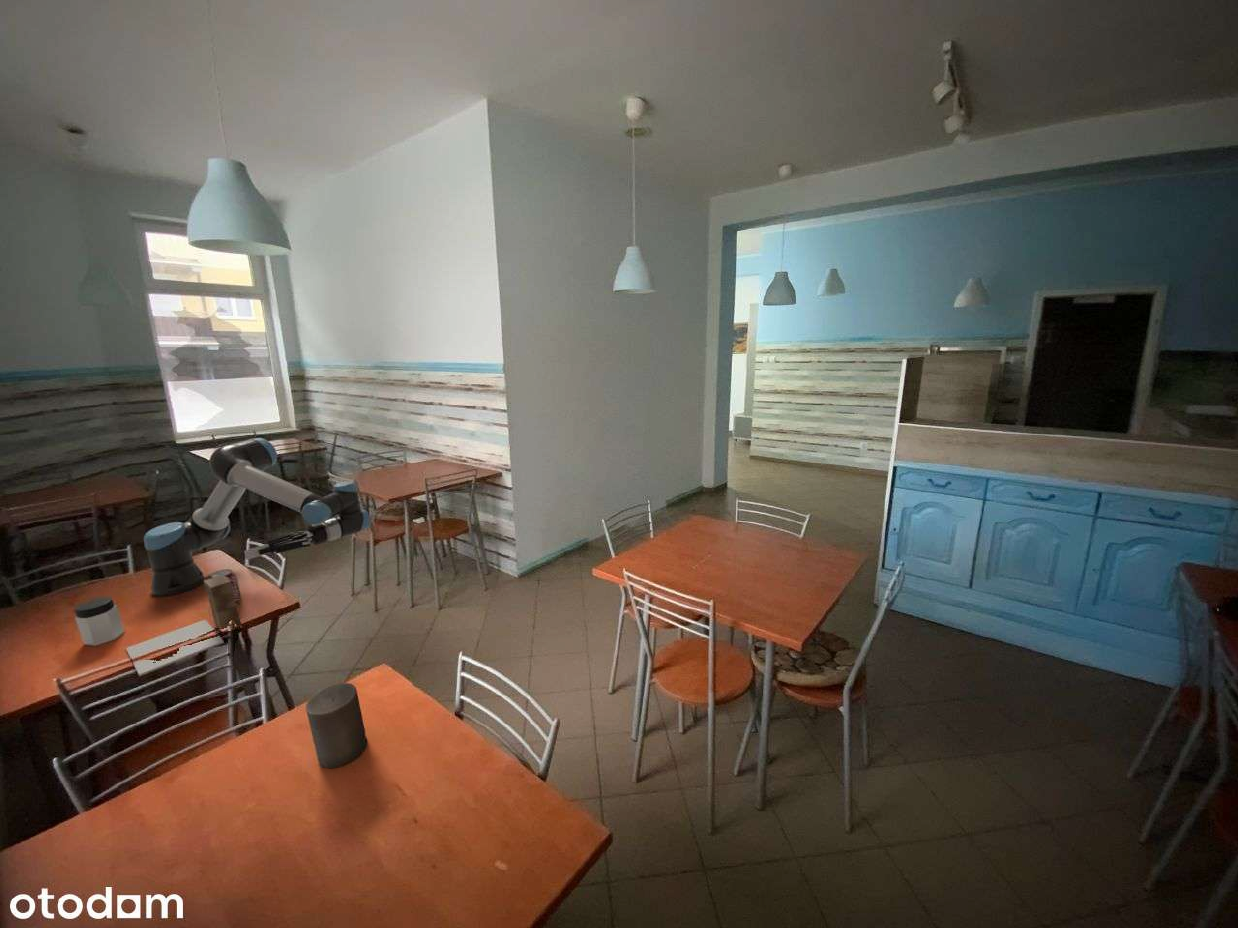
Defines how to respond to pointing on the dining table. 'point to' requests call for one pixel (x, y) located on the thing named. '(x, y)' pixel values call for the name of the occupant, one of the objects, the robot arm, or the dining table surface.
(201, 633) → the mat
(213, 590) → the walnut block
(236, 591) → the soda can
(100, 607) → the jar
